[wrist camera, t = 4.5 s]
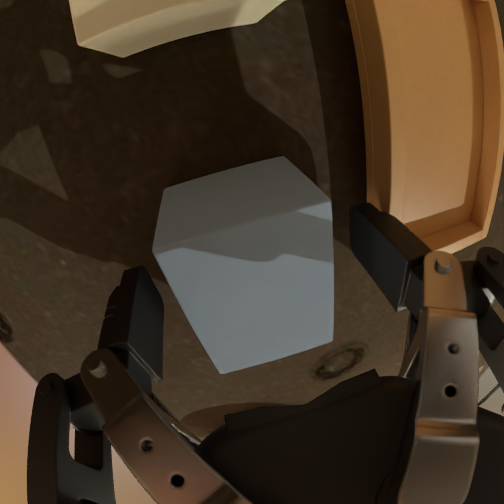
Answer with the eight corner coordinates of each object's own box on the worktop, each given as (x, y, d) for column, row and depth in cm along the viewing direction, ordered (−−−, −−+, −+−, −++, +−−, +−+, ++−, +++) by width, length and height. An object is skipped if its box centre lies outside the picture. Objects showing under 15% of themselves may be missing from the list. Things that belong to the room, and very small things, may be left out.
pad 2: (209, 303, 13) (220, 375, 10) (163, 188, 10) (150, 250, 6) (301, 276, 13) (333, 341, 10) (283, 154, 10) (332, 199, 7)
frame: (363, 261, 14) (381, 283, 12) (329, -49, 5) (352, -64, 4) (468, 222, 14) (486, 237, 13) (468, -8, 5) (492, -7, 4)
